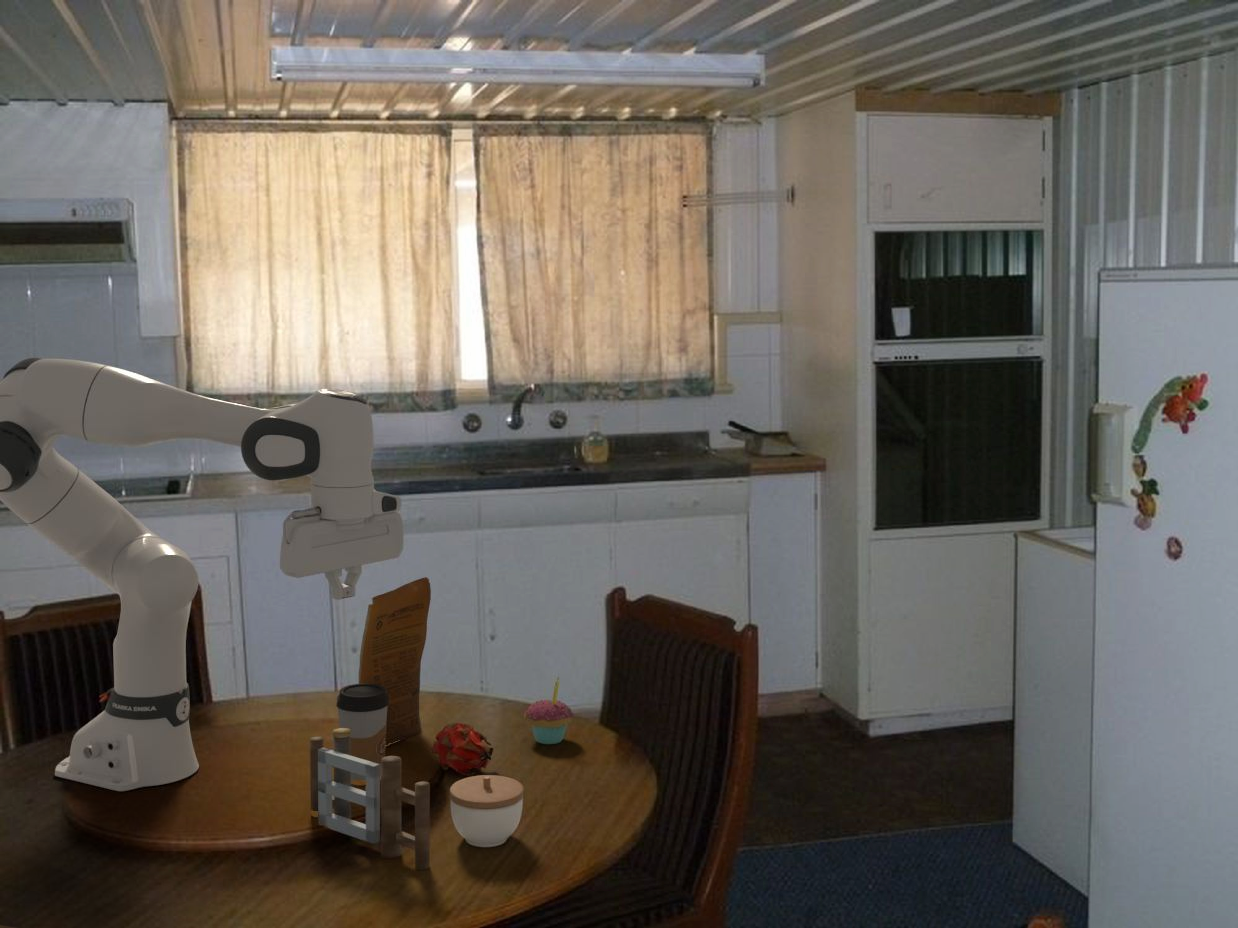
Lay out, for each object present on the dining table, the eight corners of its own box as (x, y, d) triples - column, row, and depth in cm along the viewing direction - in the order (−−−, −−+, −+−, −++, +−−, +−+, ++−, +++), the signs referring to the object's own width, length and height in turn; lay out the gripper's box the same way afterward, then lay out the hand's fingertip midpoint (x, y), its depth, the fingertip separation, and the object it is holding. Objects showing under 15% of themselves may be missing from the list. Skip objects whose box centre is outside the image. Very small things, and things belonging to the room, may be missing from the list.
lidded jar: (493, 860, 192) (494, 796, 190) (434, 842, 197) (434, 780, 196) (537, 834, 201) (538, 773, 199) (479, 818, 206) (480, 758, 205)
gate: (380, 840, 195) (379, 764, 193) (374, 843, 194) (373, 766, 192) (324, 822, 201) (323, 747, 199) (318, 824, 200) (317, 749, 198)
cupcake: (581, 738, 242) (582, 673, 241) (554, 751, 235) (555, 684, 234) (542, 728, 247) (543, 664, 245) (514, 741, 240) (514, 675, 238)
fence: (294, 820, 204) (293, 726, 202) (320, 810, 208) (318, 718, 206) (419, 871, 187) (419, 770, 185) (444, 860, 191) (445, 761, 189)
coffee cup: (377, 791, 216) (377, 699, 214) (328, 786, 218) (327, 695, 215) (396, 772, 224) (396, 684, 222) (349, 767, 226) (348, 680, 224)
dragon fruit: (438, 767, 231) (487, 795, 224) (410, 750, 225) (460, 778, 217) (464, 723, 233) (514, 749, 226) (437, 705, 227) (487, 731, 220)
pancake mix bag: (443, 728, 246) (443, 577, 242) (371, 758, 230) (370, 597, 226) (414, 721, 250) (414, 572, 246) (341, 750, 233) (340, 591, 230)
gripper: (298, 515, 184) (299, 614, 186) (410, 497, 200) (410, 589, 202) (269, 509, 188) (270, 606, 190) (381, 492, 204) (381, 582, 206)
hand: (343, 597), depth 196 cm, fingers closed
